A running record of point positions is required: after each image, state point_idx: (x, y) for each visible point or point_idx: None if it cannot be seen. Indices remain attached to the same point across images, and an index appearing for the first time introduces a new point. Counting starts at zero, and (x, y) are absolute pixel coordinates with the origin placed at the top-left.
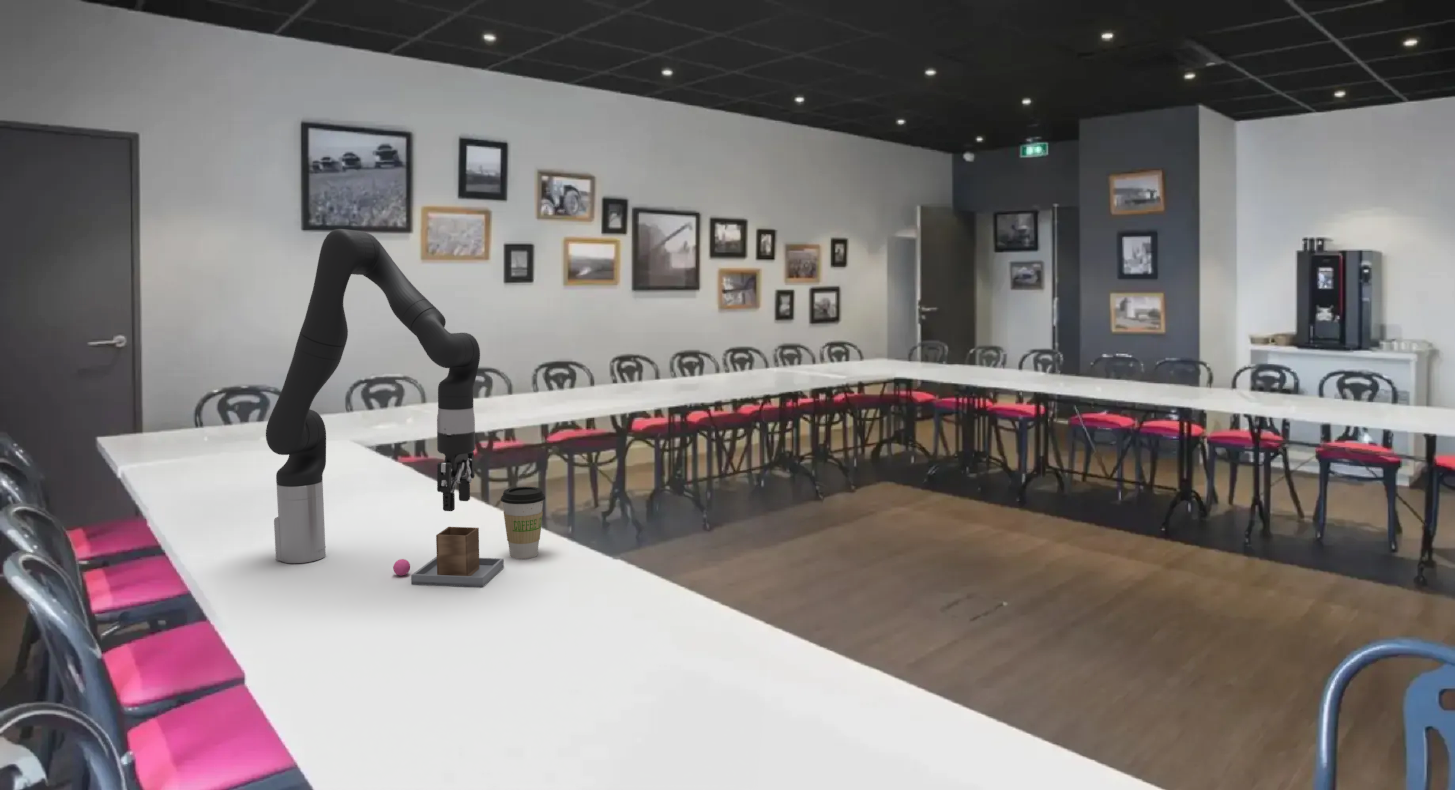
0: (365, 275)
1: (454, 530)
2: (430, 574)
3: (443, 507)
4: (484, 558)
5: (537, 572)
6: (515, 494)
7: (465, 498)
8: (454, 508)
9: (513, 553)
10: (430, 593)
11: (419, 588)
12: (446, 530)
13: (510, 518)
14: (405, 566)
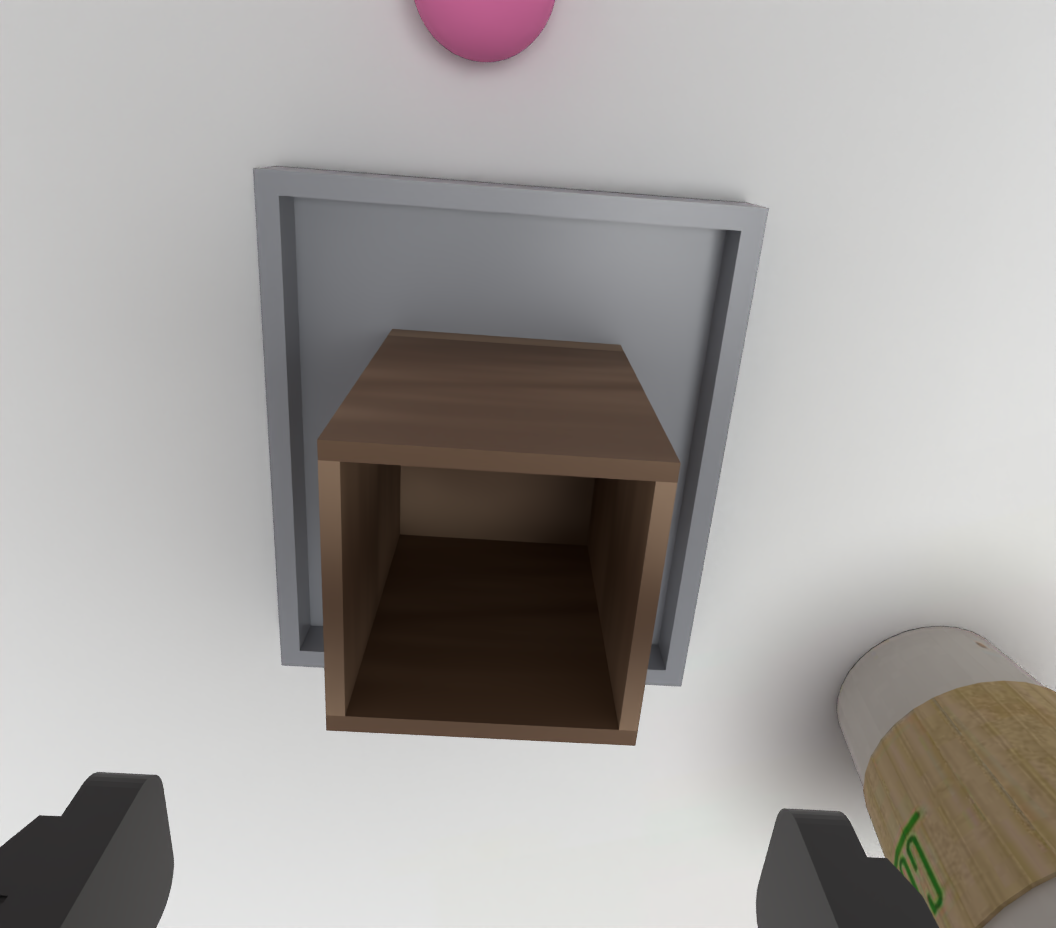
0: None
1: (645, 514)
2: (449, 257)
3: (74, 807)
4: (686, 577)
5: (579, 819)
6: None
7: (772, 914)
8: (152, 914)
9: (867, 680)
10: (129, 367)
11: (207, 258)
12: (558, 471)
13: (971, 893)
14: (438, 35)
